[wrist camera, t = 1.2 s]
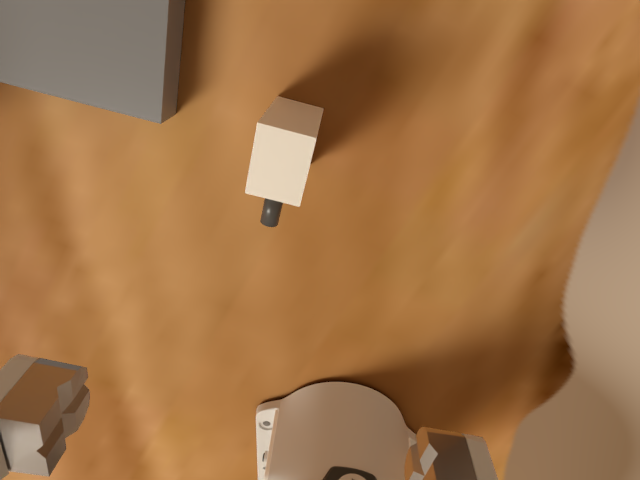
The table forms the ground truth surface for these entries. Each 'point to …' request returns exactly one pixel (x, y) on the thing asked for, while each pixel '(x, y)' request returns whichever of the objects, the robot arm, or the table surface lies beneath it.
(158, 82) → the socket plate
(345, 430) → the robot arm
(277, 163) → the plug
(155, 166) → the table surface
